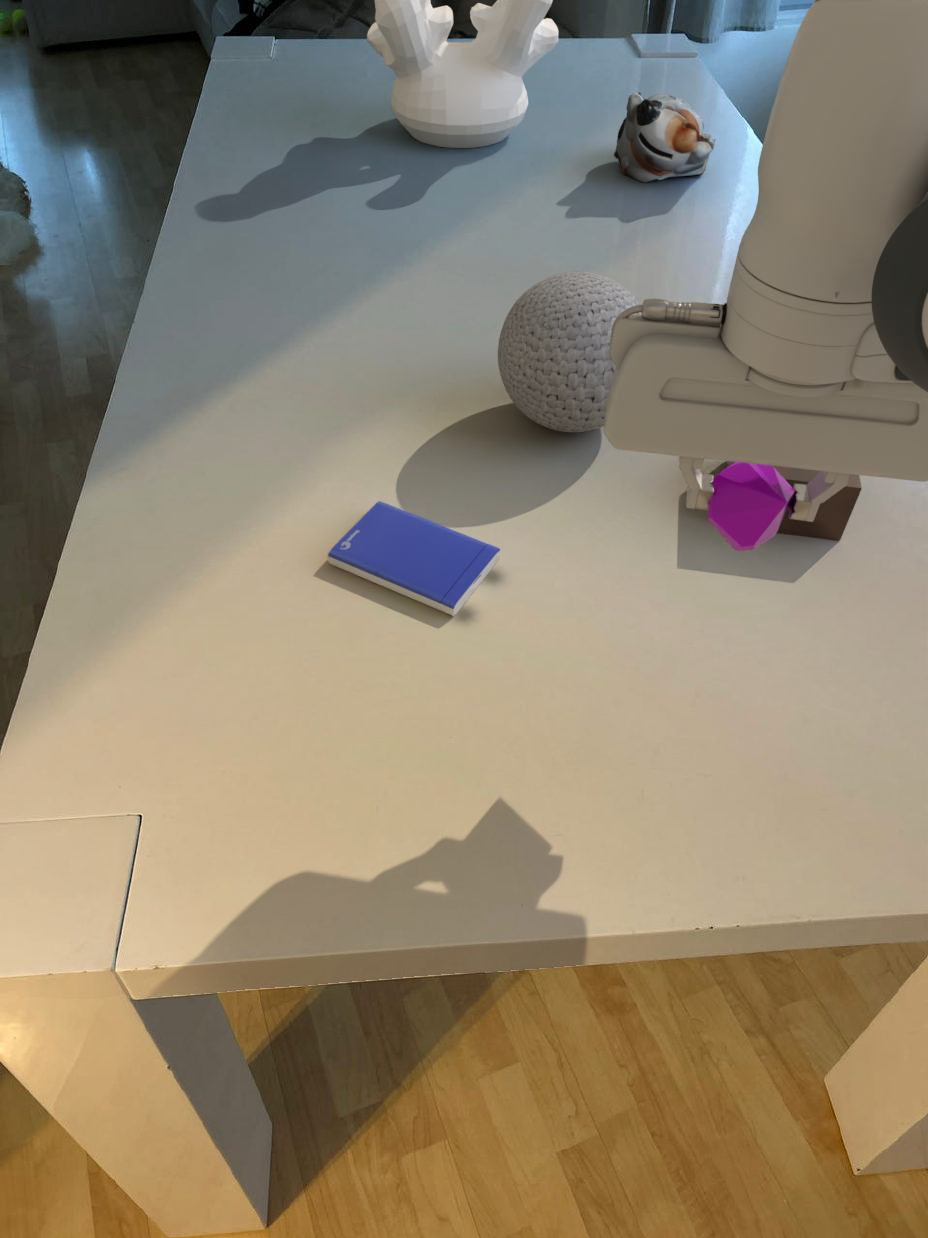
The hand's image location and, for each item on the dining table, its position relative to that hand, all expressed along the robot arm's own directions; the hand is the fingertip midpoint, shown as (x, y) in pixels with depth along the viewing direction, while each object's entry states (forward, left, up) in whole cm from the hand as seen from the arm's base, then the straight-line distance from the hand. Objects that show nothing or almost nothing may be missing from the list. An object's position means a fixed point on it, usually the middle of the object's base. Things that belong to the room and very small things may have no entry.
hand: (748, 509), depth 62 cm
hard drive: (+24, -9, -17) cm, 31 cm away
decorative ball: (+13, -33, -17) cm, 39 cm away
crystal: (0, 0, -2) cm, 2 cm away
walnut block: (-8, -24, -17) cm, 30 cm away
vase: (+37, -108, -17) cm, 115 cm away
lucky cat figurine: (+5, -98, -17) cm, 99 cm away
